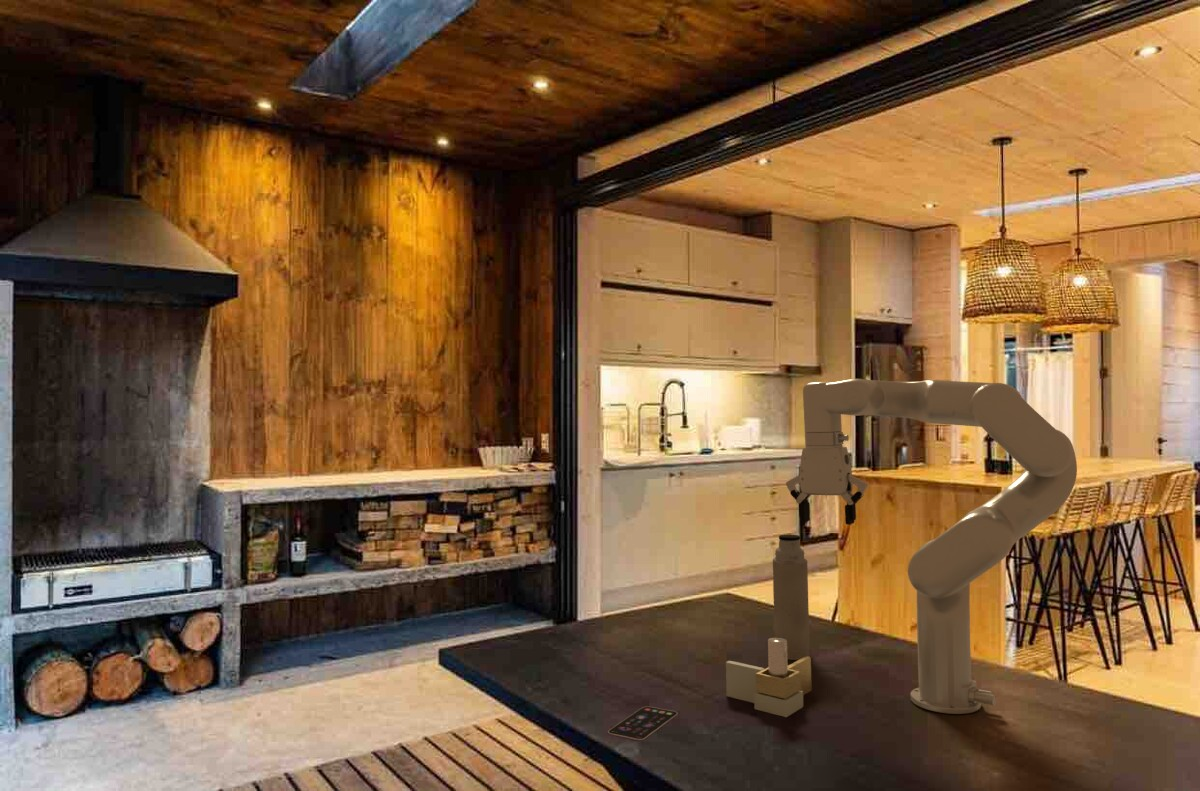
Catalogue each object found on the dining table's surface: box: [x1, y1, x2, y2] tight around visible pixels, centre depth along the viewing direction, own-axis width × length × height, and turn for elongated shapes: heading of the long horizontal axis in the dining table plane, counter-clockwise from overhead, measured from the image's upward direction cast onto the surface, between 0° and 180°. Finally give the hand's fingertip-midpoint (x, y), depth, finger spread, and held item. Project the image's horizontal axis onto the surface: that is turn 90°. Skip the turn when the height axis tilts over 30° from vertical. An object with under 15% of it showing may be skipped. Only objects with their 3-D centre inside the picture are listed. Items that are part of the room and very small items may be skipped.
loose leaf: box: [725, 660, 804, 718], centre depth 159 cm, size 15×7×7 cm, turn 49°
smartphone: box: [607, 706, 678, 741], centre depth 150 cm, size 8×1×15 cm
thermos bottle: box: [772, 534, 811, 661], centre depth 190 cm, size 8×8×28 cm
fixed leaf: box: [756, 656, 812, 699], centre depth 160 cm, size 6×16×7 cm, turn 139°
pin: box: [767, 637, 789, 700], centre depth 156 cm, size 4×4×13 cm
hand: (827, 522), depth 169 cm, fingers open, 9 cm apart
